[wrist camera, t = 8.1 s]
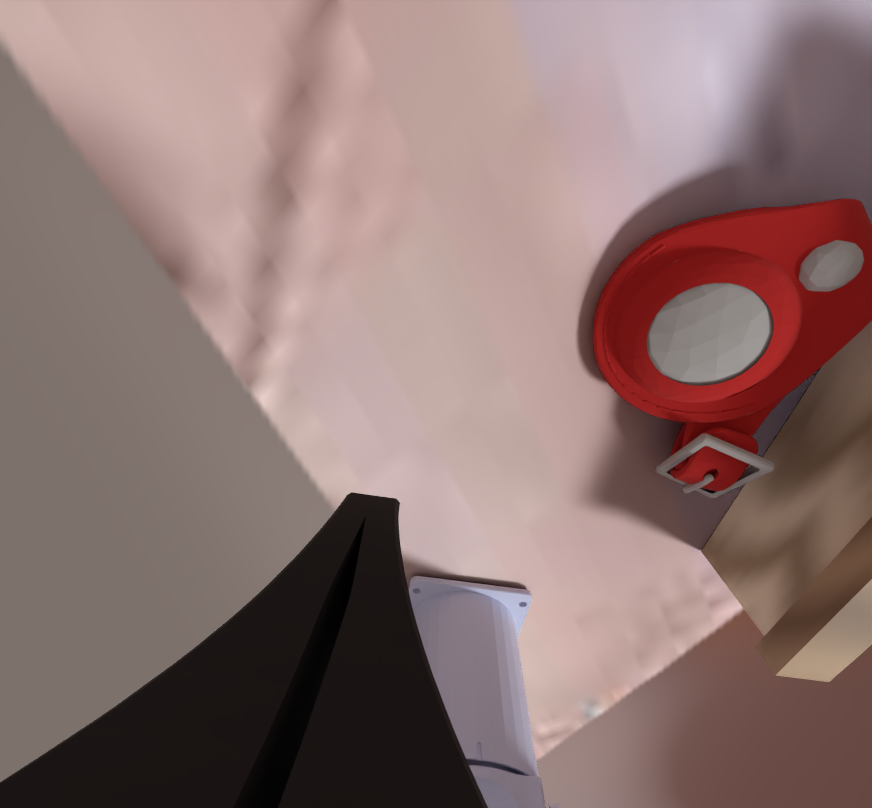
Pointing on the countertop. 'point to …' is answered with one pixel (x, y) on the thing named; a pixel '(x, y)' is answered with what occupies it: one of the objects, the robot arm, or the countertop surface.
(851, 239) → the tracker holder
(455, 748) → the robot arm
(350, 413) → the countertop surface
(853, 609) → the wall board
